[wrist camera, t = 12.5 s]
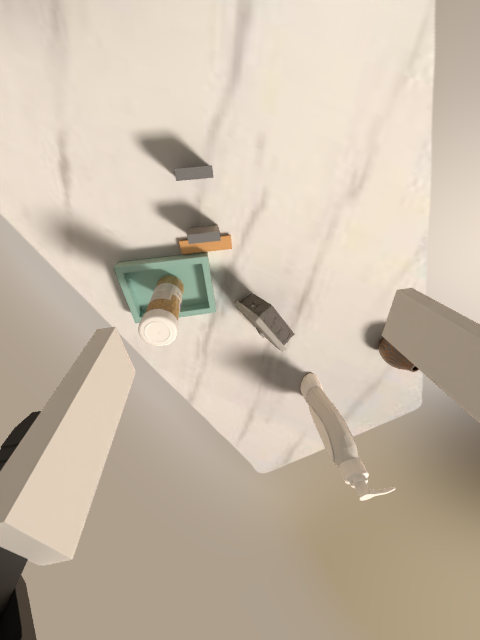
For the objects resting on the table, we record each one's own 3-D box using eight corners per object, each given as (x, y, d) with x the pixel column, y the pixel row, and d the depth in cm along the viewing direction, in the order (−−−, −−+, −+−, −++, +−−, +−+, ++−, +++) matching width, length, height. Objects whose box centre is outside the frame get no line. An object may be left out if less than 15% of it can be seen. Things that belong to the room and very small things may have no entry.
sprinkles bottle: (185, 298, 40) (179, 346, 29) (158, 299, 39) (141, 348, 28) (182, 273, 38) (174, 315, 26) (154, 274, 37) (133, 317, 26)
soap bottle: (328, 396, 62) (390, 504, 42) (301, 403, 62) (349, 514, 42) (328, 363, 55) (403, 473, 35) (297, 371, 55) (354, 486, 35)
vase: (387, 326, 51) (418, 351, 44) (407, 334, 54) (440, 359, 46) (367, 349, 54) (393, 376, 47) (387, 355, 57) (415, 382, 49)
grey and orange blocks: (164, 170, 30) (158, 170, 26) (223, 165, 31) (227, 164, 27) (182, 253, 36) (179, 263, 32) (231, 247, 37) (235, 256, 33)
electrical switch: (232, 301, 42) (244, 326, 34) (254, 283, 42) (271, 305, 34) (260, 331, 47) (276, 359, 39) (280, 316, 46) (300, 341, 38)
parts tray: (118, 262, 36) (113, 267, 34) (207, 251, 37) (207, 256, 35) (138, 315, 41) (135, 323, 39) (215, 305, 42) (216, 312, 40)
